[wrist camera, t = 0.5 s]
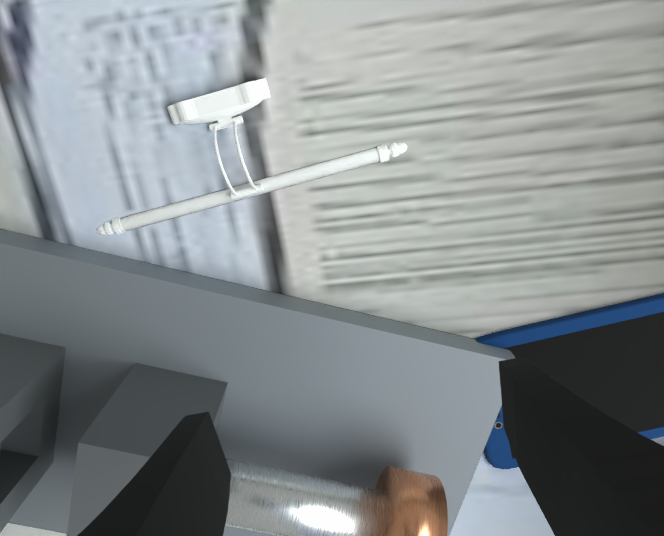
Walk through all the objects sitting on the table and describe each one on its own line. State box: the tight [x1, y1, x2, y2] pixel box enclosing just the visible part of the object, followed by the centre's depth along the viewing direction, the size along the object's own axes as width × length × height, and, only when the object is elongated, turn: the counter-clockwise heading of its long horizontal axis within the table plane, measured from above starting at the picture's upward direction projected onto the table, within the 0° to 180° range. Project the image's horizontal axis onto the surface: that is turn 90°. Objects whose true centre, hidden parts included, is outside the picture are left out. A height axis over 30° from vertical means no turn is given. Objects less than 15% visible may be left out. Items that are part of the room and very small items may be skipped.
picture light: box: [97, 78, 407, 235], centre depth 21 cm, size 14×4×2 cm, turn 105°
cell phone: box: [475, 293, 664, 469], centre depth 25 cm, size 7×14×1 cm, turn 104°
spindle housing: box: [0, 229, 515, 536], centre depth 22 cm, size 14×24×7 cm, turn 76°
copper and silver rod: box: [225, 458, 448, 536], centre depth 21 cm, size 4×12×4 cm, turn 76°
